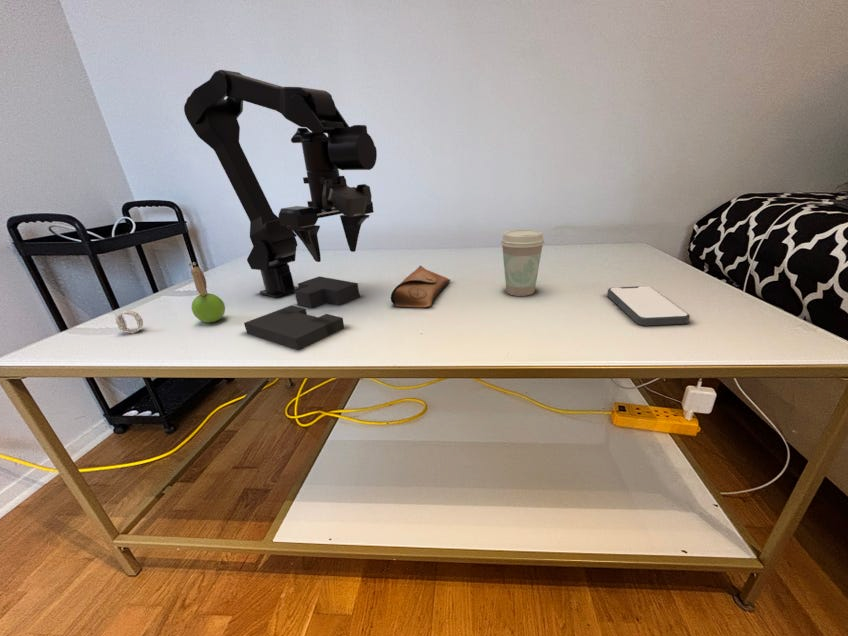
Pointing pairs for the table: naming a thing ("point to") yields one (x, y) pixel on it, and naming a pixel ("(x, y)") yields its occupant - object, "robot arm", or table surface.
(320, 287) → the pad
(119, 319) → the beige textured ring
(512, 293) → the coffee cup
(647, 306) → the phone case
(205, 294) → the green ball with stick
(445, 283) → the sunglasses case
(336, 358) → the table surface
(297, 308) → the notched pad
